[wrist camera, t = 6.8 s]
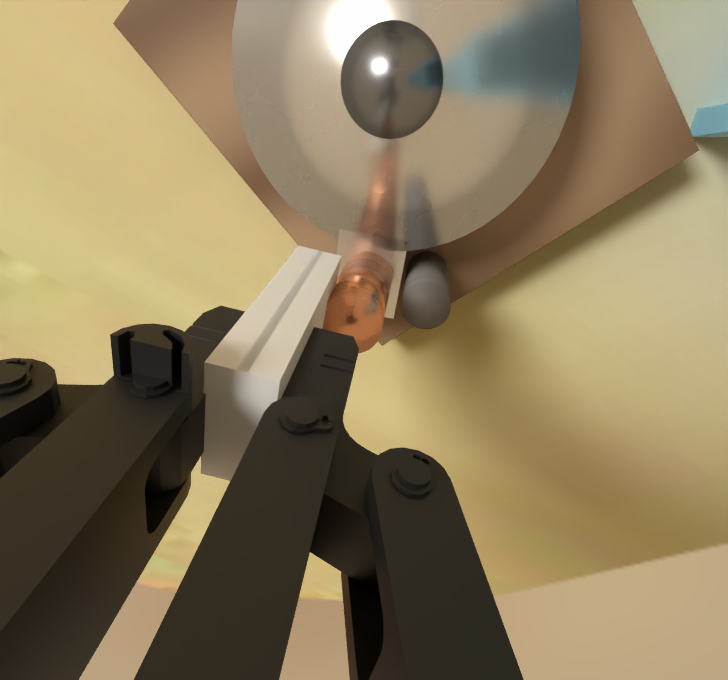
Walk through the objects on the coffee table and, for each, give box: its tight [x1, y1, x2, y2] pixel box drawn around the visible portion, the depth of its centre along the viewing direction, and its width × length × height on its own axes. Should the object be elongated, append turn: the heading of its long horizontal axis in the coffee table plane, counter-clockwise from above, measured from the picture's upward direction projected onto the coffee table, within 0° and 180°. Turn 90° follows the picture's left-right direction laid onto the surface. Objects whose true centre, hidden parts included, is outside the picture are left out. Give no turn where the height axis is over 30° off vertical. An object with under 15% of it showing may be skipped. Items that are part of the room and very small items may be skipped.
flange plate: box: [231, 0, 581, 353], centre depth 13 cm, size 12×10×6 cm
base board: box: [113, 0, 699, 345], centre depth 14 cm, size 15×13×5 cm
